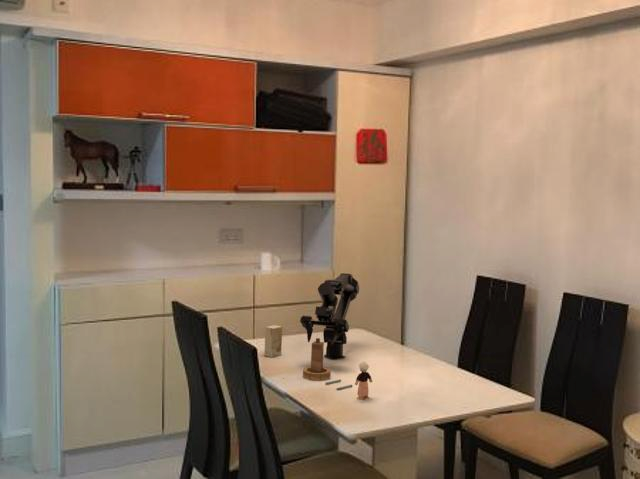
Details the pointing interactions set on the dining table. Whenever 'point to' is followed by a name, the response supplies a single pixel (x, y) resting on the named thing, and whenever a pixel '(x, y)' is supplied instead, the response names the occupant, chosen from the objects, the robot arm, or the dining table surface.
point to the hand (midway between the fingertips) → (319, 343)
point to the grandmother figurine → (363, 381)
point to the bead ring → (316, 374)
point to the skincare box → (273, 341)
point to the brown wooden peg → (317, 356)
